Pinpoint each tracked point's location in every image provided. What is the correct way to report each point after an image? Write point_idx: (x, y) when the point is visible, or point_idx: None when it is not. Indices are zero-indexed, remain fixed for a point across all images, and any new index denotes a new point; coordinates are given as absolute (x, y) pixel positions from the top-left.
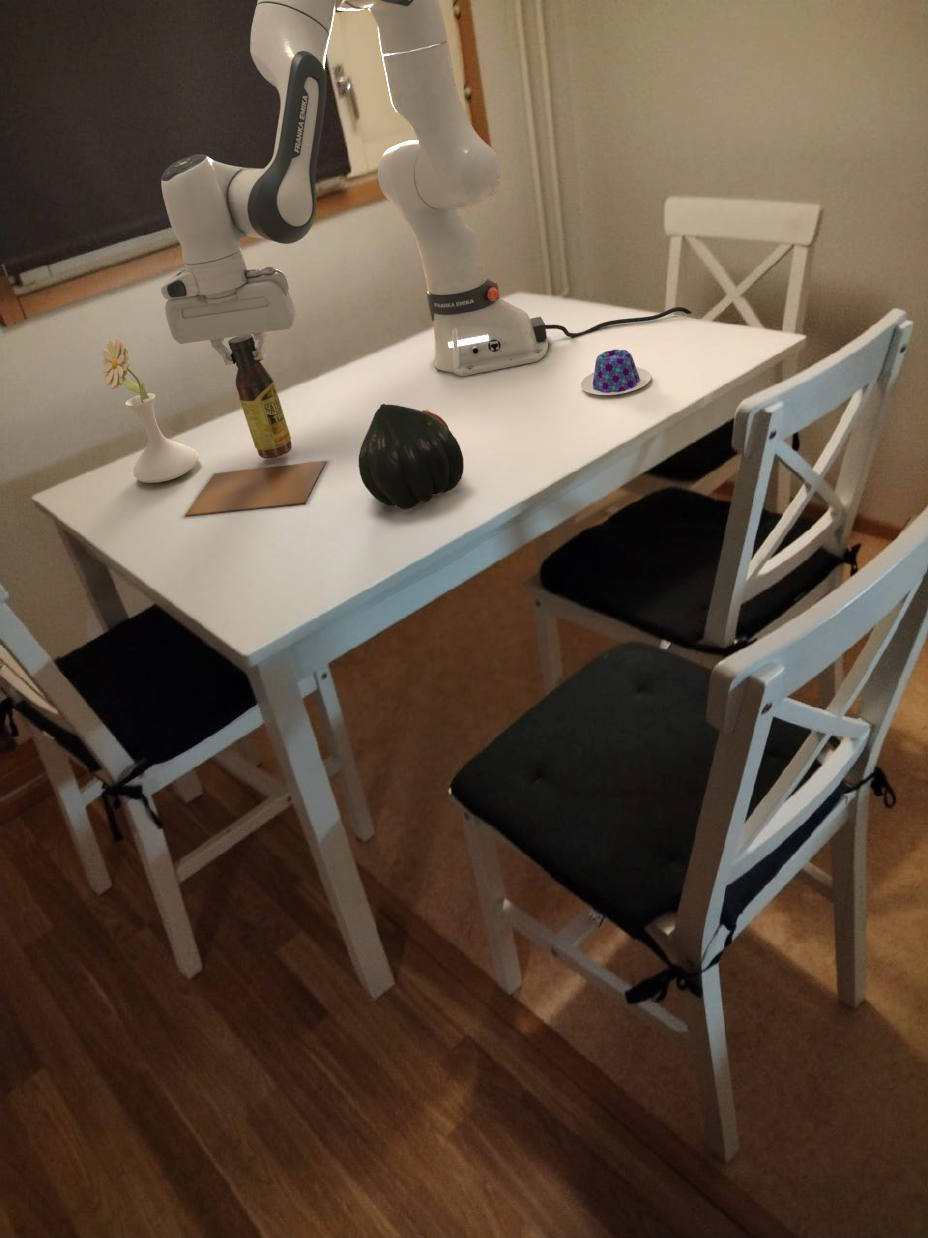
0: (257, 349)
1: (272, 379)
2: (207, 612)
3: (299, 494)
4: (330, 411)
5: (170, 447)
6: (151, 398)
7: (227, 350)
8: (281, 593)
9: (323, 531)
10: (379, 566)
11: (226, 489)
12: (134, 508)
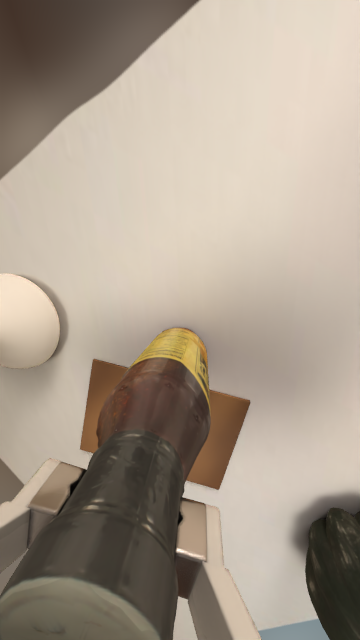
0: (193, 612)
1: (208, 420)
2: None
3: (212, 470)
4: (273, 198)
5: (6, 344)
6: None
7: (20, 524)
8: None
9: (236, 544)
10: (282, 612)
11: None
12: (10, 398)
